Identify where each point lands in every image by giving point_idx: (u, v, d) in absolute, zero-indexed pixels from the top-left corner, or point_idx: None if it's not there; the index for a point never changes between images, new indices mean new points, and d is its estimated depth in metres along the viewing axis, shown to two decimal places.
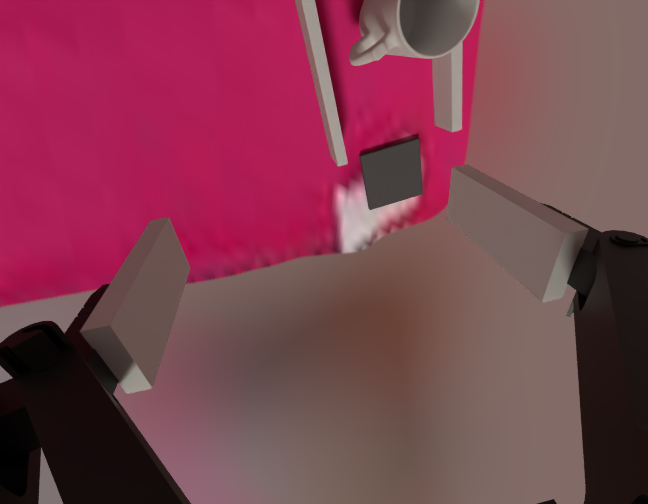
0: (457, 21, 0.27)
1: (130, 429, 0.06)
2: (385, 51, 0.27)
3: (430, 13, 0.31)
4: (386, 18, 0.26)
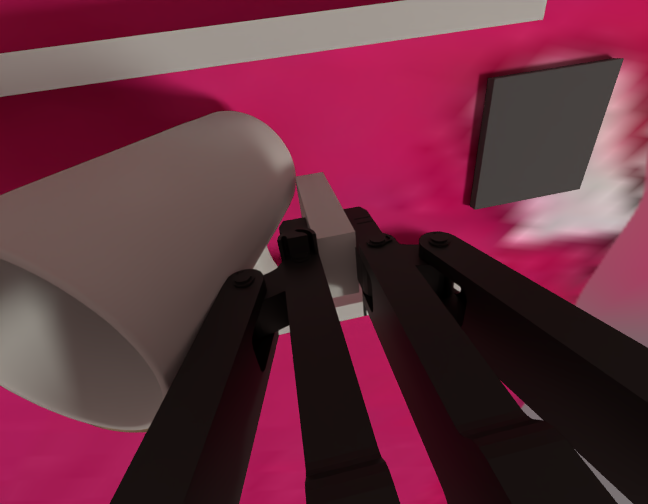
0: None
1: (343, 334, 0.07)
2: None
3: None
4: None
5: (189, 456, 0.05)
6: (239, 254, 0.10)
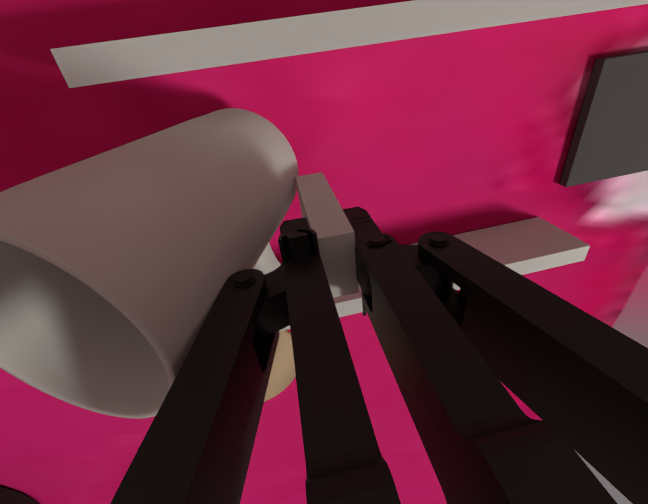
0: None
1: (343, 334, 0.07)
2: None
3: None
4: None
5: (190, 456, 0.05)
6: (243, 248, 0.11)
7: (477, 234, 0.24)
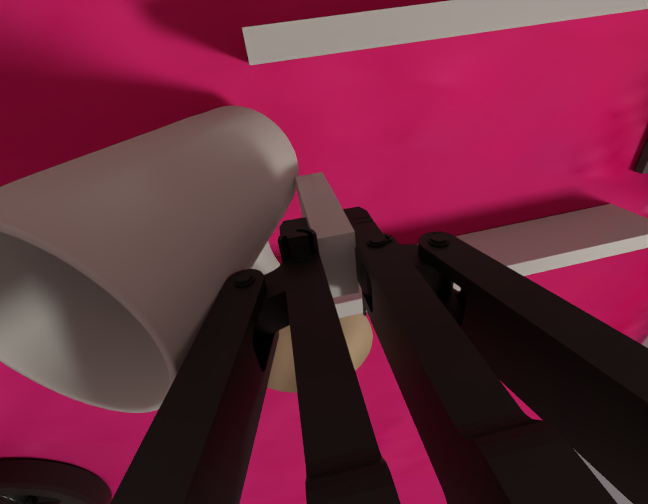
0: None
1: (343, 334, 0.07)
2: None
3: None
4: None
5: (189, 456, 0.05)
6: (244, 246, 0.11)
7: (554, 219, 0.25)
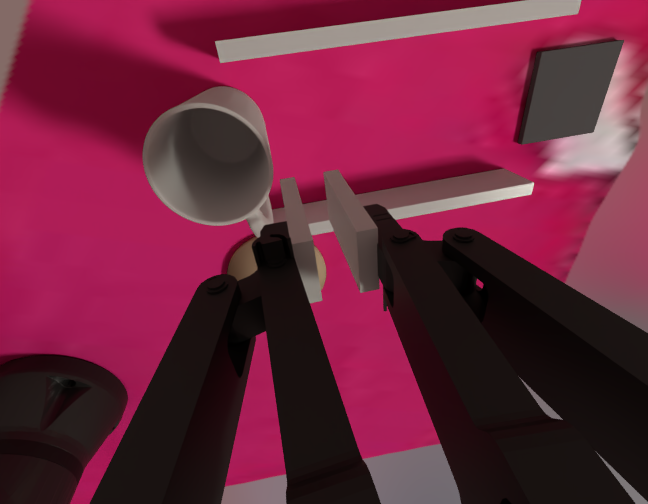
0: None
1: (320, 338, 0.07)
2: (260, 222, 0.21)
3: None
4: None
5: (164, 467, 0.05)
6: None
7: (457, 178, 0.33)
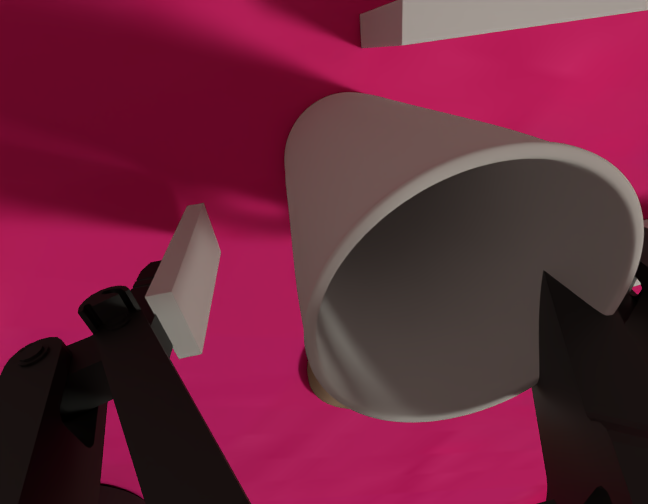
0: None
1: (186, 392, 0.06)
2: None
3: None
4: None
5: None
6: None
7: None
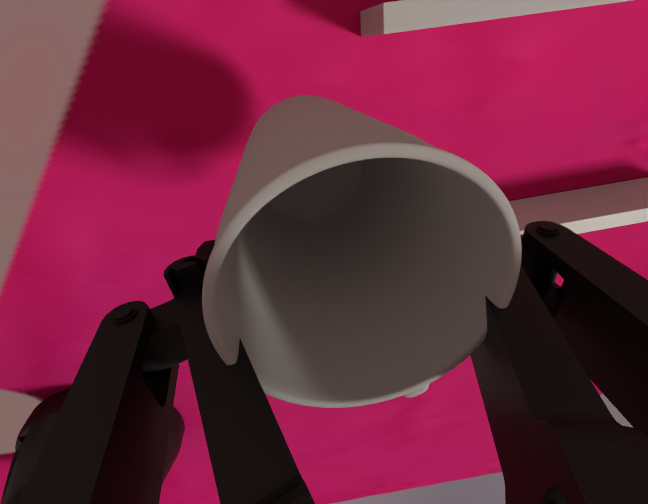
0: None
1: (249, 360, 0.07)
2: None
3: None
4: None
5: None
6: None
7: (604, 188, 0.27)
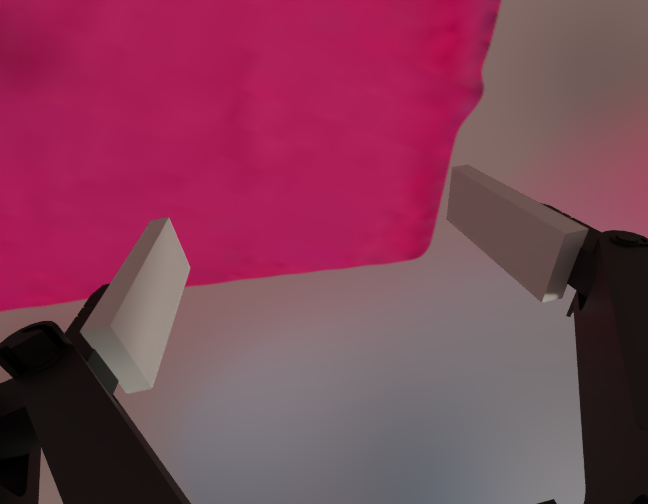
0: None
1: (130, 429, 0.06)
2: None
3: None
4: None
5: None
6: None
7: None
